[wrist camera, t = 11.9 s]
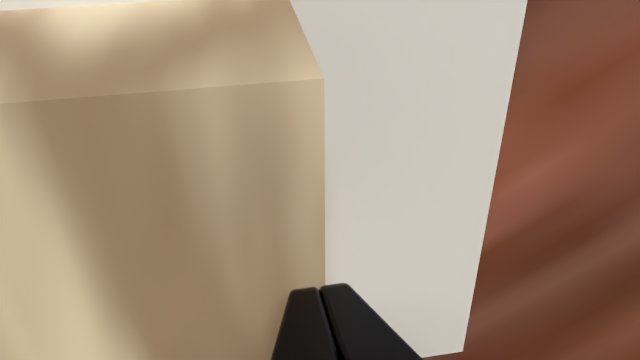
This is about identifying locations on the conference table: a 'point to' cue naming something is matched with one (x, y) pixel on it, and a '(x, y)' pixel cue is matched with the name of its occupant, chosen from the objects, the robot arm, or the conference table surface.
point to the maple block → (157, 179)
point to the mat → (406, 148)
